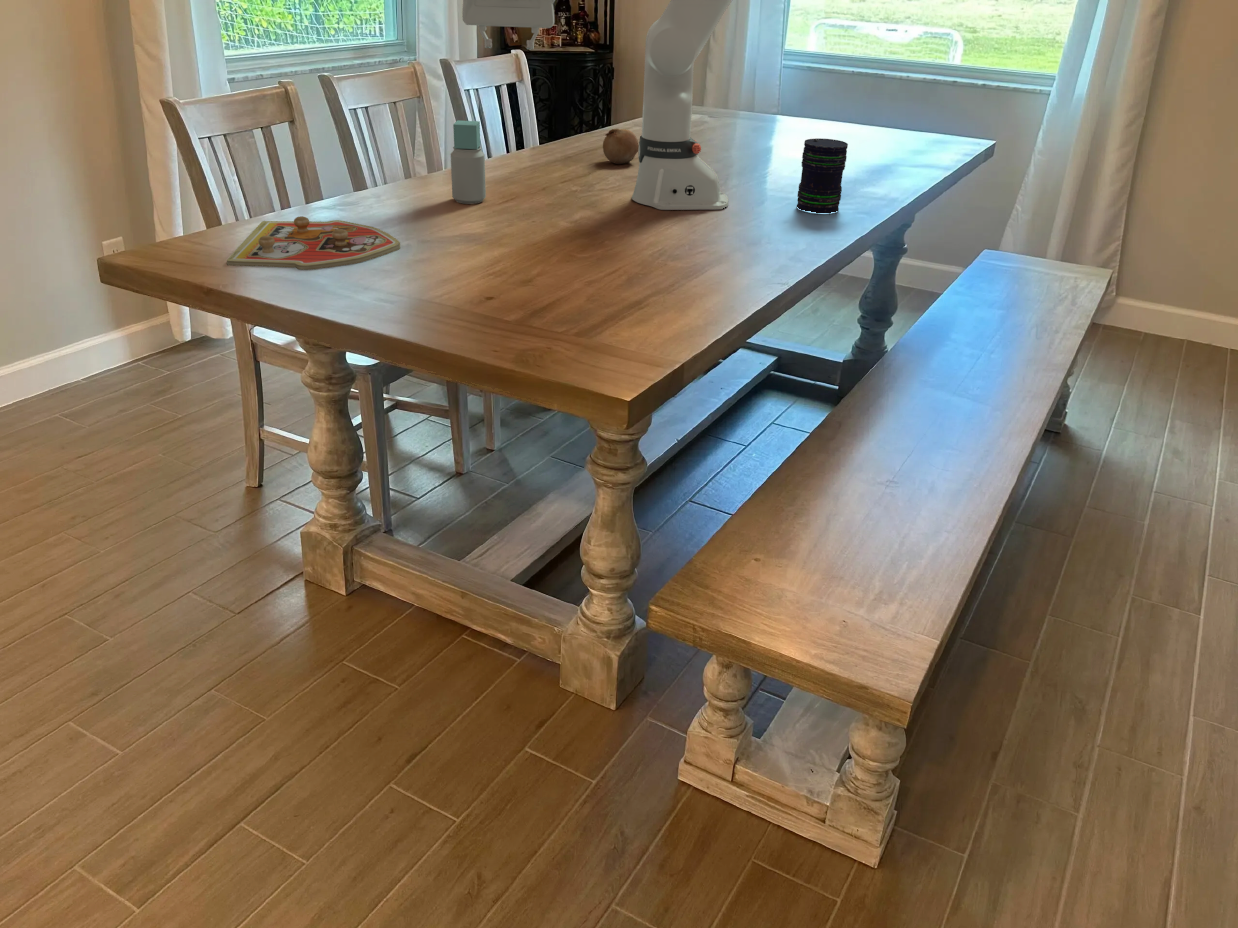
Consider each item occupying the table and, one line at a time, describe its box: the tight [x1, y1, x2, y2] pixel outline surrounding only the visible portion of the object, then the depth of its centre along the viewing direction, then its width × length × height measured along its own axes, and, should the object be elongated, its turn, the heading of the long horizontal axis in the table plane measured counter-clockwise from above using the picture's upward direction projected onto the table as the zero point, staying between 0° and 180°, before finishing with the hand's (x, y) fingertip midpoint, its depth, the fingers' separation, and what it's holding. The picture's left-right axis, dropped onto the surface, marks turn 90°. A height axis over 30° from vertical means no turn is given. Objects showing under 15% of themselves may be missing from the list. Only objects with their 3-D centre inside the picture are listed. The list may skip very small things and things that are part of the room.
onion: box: [602, 128, 639, 165], centre depth 264 cm, size 10×9×10 cm
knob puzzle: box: [226, 216, 401, 271], centre depth 192 cm, size 29×30×4 cm
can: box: [450, 145, 487, 205], centre depth 223 cm, size 8×8×12 cm
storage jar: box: [796, 138, 849, 213], centre depth 227 cm, size 10×10×15 cm
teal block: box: [452, 120, 481, 149], centre depth 219 cm, size 5×5×5 cm
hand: (509, 48), depth 223 cm, fingers open, 8 cm apart
